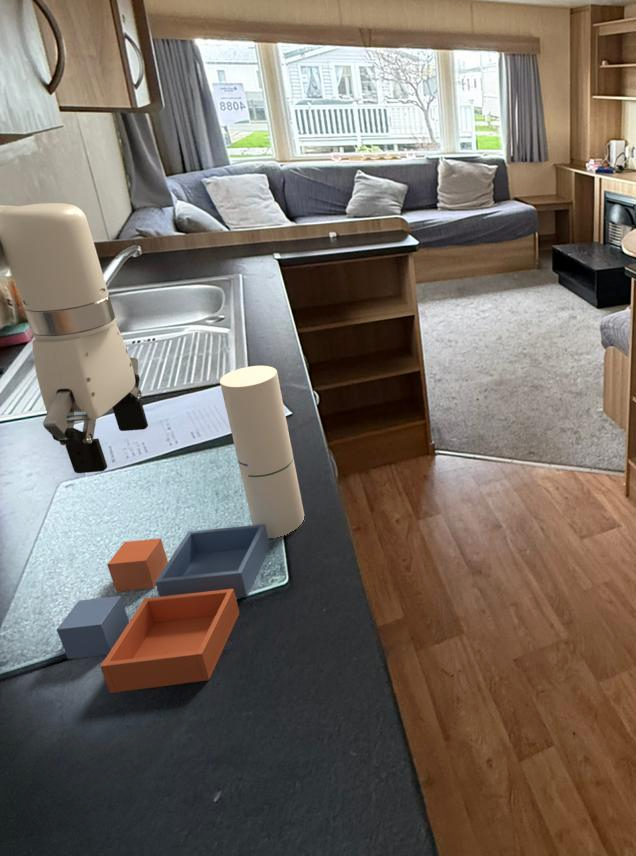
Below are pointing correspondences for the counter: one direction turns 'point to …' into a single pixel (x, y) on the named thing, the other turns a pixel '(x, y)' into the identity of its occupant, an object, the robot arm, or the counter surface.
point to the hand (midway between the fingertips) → (114, 448)
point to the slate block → (93, 627)
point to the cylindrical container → (263, 448)
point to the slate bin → (215, 561)
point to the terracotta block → (137, 564)
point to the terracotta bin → (171, 641)
